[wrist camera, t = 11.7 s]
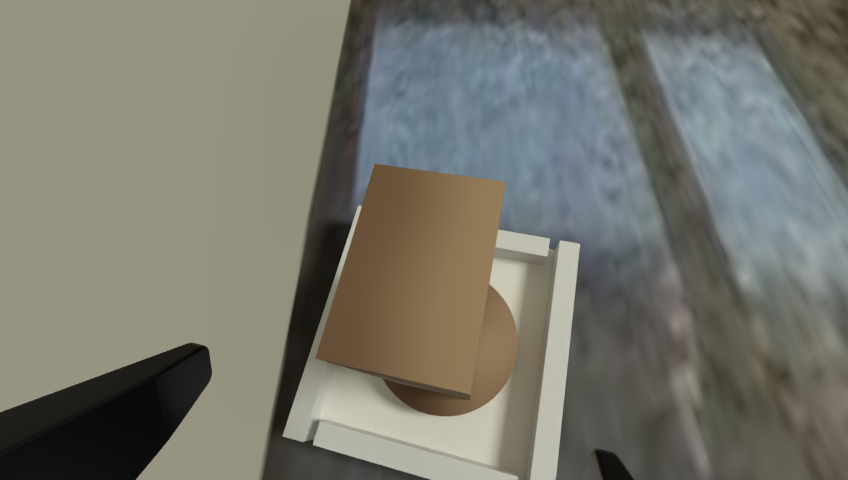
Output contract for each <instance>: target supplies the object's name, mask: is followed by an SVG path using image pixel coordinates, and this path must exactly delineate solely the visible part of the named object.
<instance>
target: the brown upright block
mask: <svg viewBox="0 0 848 480" xmlns="http://www.w3.org/2000/svg"><path fill="white" fill-rule="evenodd" d="M505 184H506V182H504V181H497V180H489V179H482V178H474V177H467V176H460V175H452V174H445V173H437V172H430V171H423V170H415V169H408V168H400V167H393V166H386V165H378V164H375V165H374V168H373V172H372V175H371V178H370V181H369V185H368V188H367V191H366V194H365V198H364V201H363V204H362V207H361V211H360V214H359V217H358V220H357V224H356V227H355V230H354V233H353V237H352V240H351V243H350V247H349V250H348V253H347V256H346V260H345V263H344V266H343V269H342V273H341V276H340V279H339V282H338V286H337V289H336V292H335V295H334V299H333V302H332V305H331V308H330V312H329V315H328V318H327V321H326V325H325V328H324V331H323V335H322V338H321V341H320V344H319V348H318V351H317V354H316V357H315V358H316V359H319V360H322V361H326V362H329V363H332V364H336V365H339V366H342V367H346V368H349V369H352V370H356V371H359V372H362V373H366V374H369V375H372V376H376V377H379V378H382V379H383V380H384V382H385V383H386V385H387V386H388V388H389V389H390V390H391V391H392V392H393V394H394V395H395V396H396V397H398V398H399V399H400V400H401V401H402V402H404V403H405V404H406V405H408V406H409V407H411V408H413V409H415V410H417V411H420V412H423V413H426V414H429V415H435V416H458V415H462V414H466V413H469V412H472V411H474V410H477V409H479V408H480V407H482V406H484V405H485V404H487V403H488V402H489V401H491V400H492V399H493V398H494V397H495V396H496V395H497V394H498V393H499V392H500V391H501V390H502V388H503V387H504V386H505V384H506V383H507V381H508V379H509V377H510V375H511V373H512V371H513V368H514V365H515V362H516V357H517V350H518V336H517V329H516V324H515V321H514V318H513V315H512V313H511V311H510V309H509V307H508V305H507V303H506V302H505V300H504V299H503V297H502V296H501V295H500V294H499V293H498V292H497V291H496V290H495V289H494V288H493V287H492V286H491V285H490V284H489V283H490V276H491V270H492V264H493V258H494V252H495V246H496V240H497V233H498V227H499V221H500V215H501V209H502V203H503V197H504V191H505Z"/></svg>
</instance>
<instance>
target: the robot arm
mask: <svg viewBox="0 0 848 480" xmlns="http://www.w3.org/2000/svg"><path fill="white" fill-rule="evenodd" d="M211 375H212V369H211V362H210V356H209V350H208V348H207V347H206V346H203V345H199V344H195V343H188V344H185V345H182V346H180V347H177V348H174V349H171V350H169V351H166V352H163V353H160V354H158V355H155V356H152V357H150V358H147V359H144V360H142V361H139V362H136V363H133V364H131V365H128V366H125V367H122V368H120V369H117V370H114V371H111V372H109V373H106V374H103V375H101V376H98V377H95V378H93V379H90V380H87V381H84V382H82V383H79V384H76V385H74V386H71V387H68V388H65V389H63V390H60V391H57V392H54V393H52V394H49V395H46V396H43V397H41V398H38V399H35V400H33V401H30V402H27V403H24V404H22V405H19V406H16V407H14V408H11V409H8V410H5V411H3V412H0V480H136V479H137V477H138V476H139V475H140V474H141V473H142V471H143V470H144V469H145V468H146V467H147V465H148V464H149V463H150V462H151V461H152V459H153V458H154V457H155V456H156V455H157V453H158V452H159V451H160V450H161V449H162V447H163V446H164V445H165V444H166V442H167V441H168V440H169V438H170V437H171V436H172V434H173V433H174V432H175V430H176V429H177V427H178V426H179V424H180V423H181V422H182V420H183V419H184V417H185V416H186V415H187V413H188V412H189V410H190V409H191V407H192V406H193V404H194V403H195V402H196V400H197V399H198V397H199V396H200V394H201V393H202V392H203V390H204V389H205V387H206V386H207V384H208V383H209V381H210V379H211ZM582 480H634V479H633V477H632V476H631V475H630V473H629V472H628V470H627V469H626V467H625V466H624V465H623V463H622V462H621V460H620V459H619V457H618V456H617V455H616V454H614V453H612V452H609V451H605V450H601V449H594V450H593V451H592V452H591V455H590V457H589V460H588V463H587V465H586V468H585V470H584V473H583V477H582Z"/></svg>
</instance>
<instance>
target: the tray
mask: <svg viewBox="0 0 848 480" xmlns="http://www.w3.org/2000/svg"><path fill="white" fill-rule="evenodd" d="M361 207H362V206H359V205H358V208H357V211H356V214H355V218H354V221H353V224H352V227H351V230H350V233H349V236H348V239H347V242H346V245H345V248H344V251H343V254H342V257H341V260H340V263H339V266H338V269H337V272H336V275H335V278H334V281H333V284H332V287H331V290H330V293H329V296H328V299H327V302H326V305H325V308H324V311H323V314H322V318H321V321H320V324H319V327H318V330H317V333H316V336H315V339H314V342H313V345H312V348H311V351H310V354H309V357H308V360H307V363H306V366H305V369H304V372H303V375H302V378H301V381H300V384H299V387H298V390H297V393H296V396H295V399H294V402H293V405H292V408H291V411H290V414H289V418H288V421H287V424H286V427H285V430H284V433H283V436H284V437H287V438H291V439H294V440H297V441H301V442H305V441H309V440H314V442H313V445H314V446H318V447H321V448H325V449H328V450H332V451H335V452H338V453H342V454H345V455H349V456H352V457H355V458H359V459H362V460H366V461H369V462H372V463H376V464H379V465H383V466H386V467H390V468H393V469H396V470H400V471H403V472H407V473H410V474H413V475H417V476H420V477H424V478H427V479H431V480H556V472H557V462H558V452H559V443H560V433H561V423H562V414H563V404H564V394H565V384H566V375H567V365H568V355H569V346H570V336H571V326H572V317H573V307H574V297H575V288H576V278H577V268H578V258H579V249H580V244H577V243H572V242H566V241H559V243H558V244H557V246H556V248H555V250H550V249H549V241H550V239H549V238H543V237H537V236H531V235H526V234H520V233H514V232H508V231H503V230H498V233H497V240H496V246H495V252H494V258H493V264H492V270H491V276H490V283H489V284H490V285H491V286H492V287H493V288H494V289H495V290H496V291H497V292H498V293H499V294H500V295H501V296H502V297H503V299H504V300H505V302H506V303H507V305H508V307H509V309H510V311H511V313H512V315H513V318H514V321H515V324H516V329H517V336H518V350H517V357H516V362H515V365H514V368H513V371H512V373H511V375H510V377H509V379H508V381H507V383H506V384H505V386H504V387H503V388H502V390H501V391H500V392H499V393H498V394H497V395H496V396H495V397H494V398H493V399H492V400H491V401H489V402H488V403H487V404H485V405H484V406H482V407H480V408H479V409H477V410H474V411H472V412H469V413H466V414H462V415H458V416H435V415H429V414H426V413H423V412H420V411H417V410H415V409H413V408H411V407H409V406H408V405H406V404H405V403H404V402H402V401H401V400H400V399H399V398H398V397H396V396H395V395H394V394H393V392H392V391H391V390H390V389H389V388H388V386H387V385H386V383H385V382H384V380H383V379H382V378H379V377H376V376H372V375H369V374H366V373H362V372H359V371H356V370H352V369H349V368H346V367H342V366H339V365H336V364H332V363H329V362H326V361H322V360H319V359H316V358H315V357H316V354H317V351H318V348H319V344H320V341H321V338H322V335H323V331H324V328H325V325H326V321H327V318H328V315H329V312H330V308H331V305H332V302H333V299H334V295H335V292H336V289H337V286H338V282H339V279H340V276H341V273H342V269H343V266H344V263H345V260H346V256H347V253H348V250H349V247H350V243H351V240H352V237H353V233H354V230H355V227H356V224H357V220H358V217H359V214H360V211H361Z"/></svg>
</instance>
